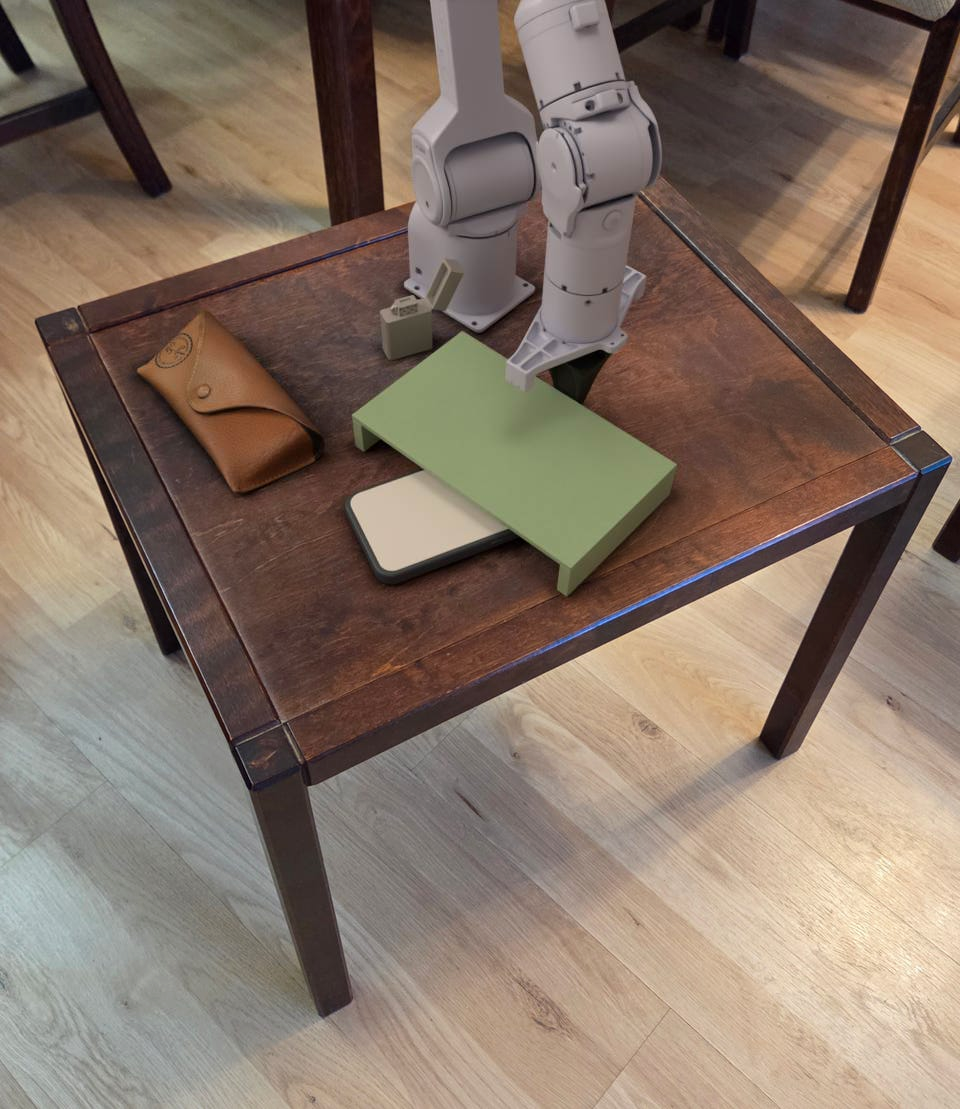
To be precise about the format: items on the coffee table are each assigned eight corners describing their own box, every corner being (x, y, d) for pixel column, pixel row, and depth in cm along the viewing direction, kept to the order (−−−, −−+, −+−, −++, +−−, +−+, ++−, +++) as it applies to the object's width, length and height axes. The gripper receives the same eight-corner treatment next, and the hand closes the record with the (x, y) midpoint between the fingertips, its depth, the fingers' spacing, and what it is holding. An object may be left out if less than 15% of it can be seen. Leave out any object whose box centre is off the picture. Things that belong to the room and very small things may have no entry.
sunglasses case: (127, 368, 90) (147, 300, 86) (198, 369, 95) (220, 304, 91) (236, 500, 81) (263, 429, 78) (308, 492, 87) (336, 426, 83)
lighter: (389, 361, 91) (383, 288, 85) (382, 348, 92) (376, 275, 86) (464, 339, 93) (464, 266, 87) (456, 326, 94) (456, 253, 88)
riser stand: (355, 446, 86) (351, 414, 83) (462, 362, 91) (462, 330, 88) (566, 597, 77) (571, 568, 74) (669, 494, 83) (677, 464, 80)
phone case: (383, 594, 78) (575, 520, 81) (381, 581, 76) (577, 508, 80) (341, 507, 82) (525, 442, 86) (338, 494, 81) (525, 429, 85)
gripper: (564, 348, 70) (550, 479, 81) (689, 245, 77) (660, 379, 88) (485, 300, 73) (482, 433, 84) (612, 205, 79) (593, 340, 90)
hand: (568, 403), depth 86 cm, fingers closed
